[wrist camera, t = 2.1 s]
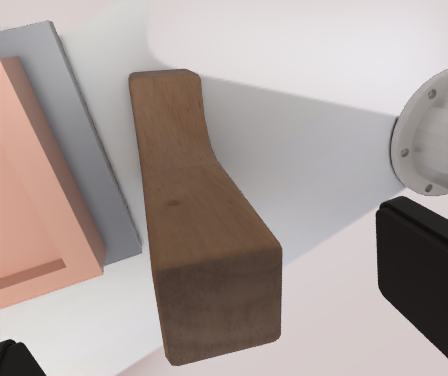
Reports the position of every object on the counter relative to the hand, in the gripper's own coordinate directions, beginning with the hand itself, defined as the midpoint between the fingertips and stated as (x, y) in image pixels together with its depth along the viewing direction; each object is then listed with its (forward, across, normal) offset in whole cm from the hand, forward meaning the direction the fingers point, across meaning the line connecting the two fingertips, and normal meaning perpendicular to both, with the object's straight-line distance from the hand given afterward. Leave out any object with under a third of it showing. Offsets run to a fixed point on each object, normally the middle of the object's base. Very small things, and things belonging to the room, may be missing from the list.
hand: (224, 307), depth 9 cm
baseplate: (+20, +12, 0) cm, 24 cm away
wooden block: (+20, -1, 0) cm, 20 cm away
